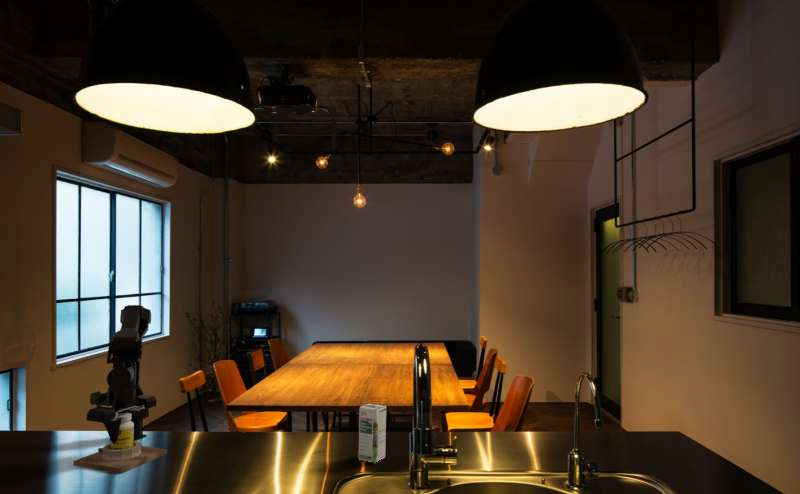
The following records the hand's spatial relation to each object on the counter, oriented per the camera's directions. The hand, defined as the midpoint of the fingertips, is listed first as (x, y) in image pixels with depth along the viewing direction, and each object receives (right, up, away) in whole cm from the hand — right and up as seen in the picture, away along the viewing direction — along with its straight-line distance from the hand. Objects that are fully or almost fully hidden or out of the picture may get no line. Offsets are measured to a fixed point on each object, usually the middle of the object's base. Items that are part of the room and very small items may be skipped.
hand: (122, 439), depth 149 cm
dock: (0, -5, 0) cm, 5 cm away
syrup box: (+68, -7, +3) cm, 68 cm away
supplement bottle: (0, -3, 0) cm, 3 cm away
